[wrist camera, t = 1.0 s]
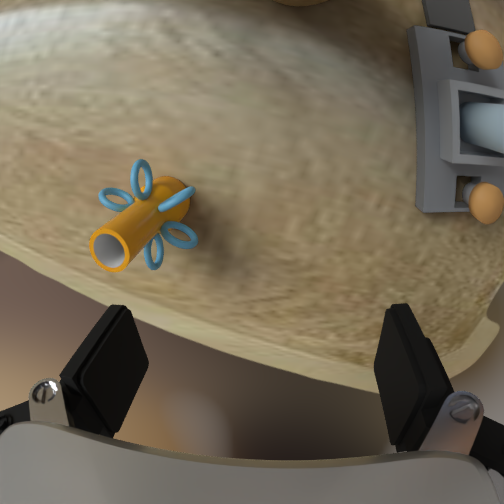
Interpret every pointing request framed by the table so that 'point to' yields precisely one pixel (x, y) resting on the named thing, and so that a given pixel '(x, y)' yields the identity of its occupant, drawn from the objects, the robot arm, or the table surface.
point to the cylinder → (142, 221)
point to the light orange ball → (481, 50)
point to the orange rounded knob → (483, 201)
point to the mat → (449, 15)
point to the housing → (449, 120)
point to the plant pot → (300, 2)
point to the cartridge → (482, 125)
